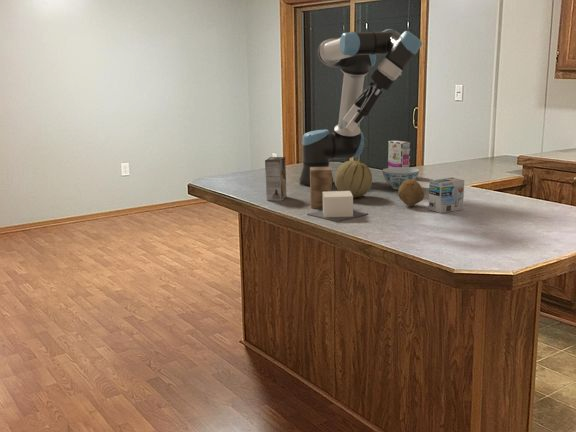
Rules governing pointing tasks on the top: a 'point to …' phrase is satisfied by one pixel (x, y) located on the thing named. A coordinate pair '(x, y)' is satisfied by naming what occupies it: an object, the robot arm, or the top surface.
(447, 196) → the light bulb box
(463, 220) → the top surface
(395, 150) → the candy bar box
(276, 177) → the coffee box
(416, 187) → the coconut
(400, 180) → the chinaware
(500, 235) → the top surface
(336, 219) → the mat
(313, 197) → the tin
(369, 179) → the cantaloupe
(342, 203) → the cream cube
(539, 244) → the top surface
